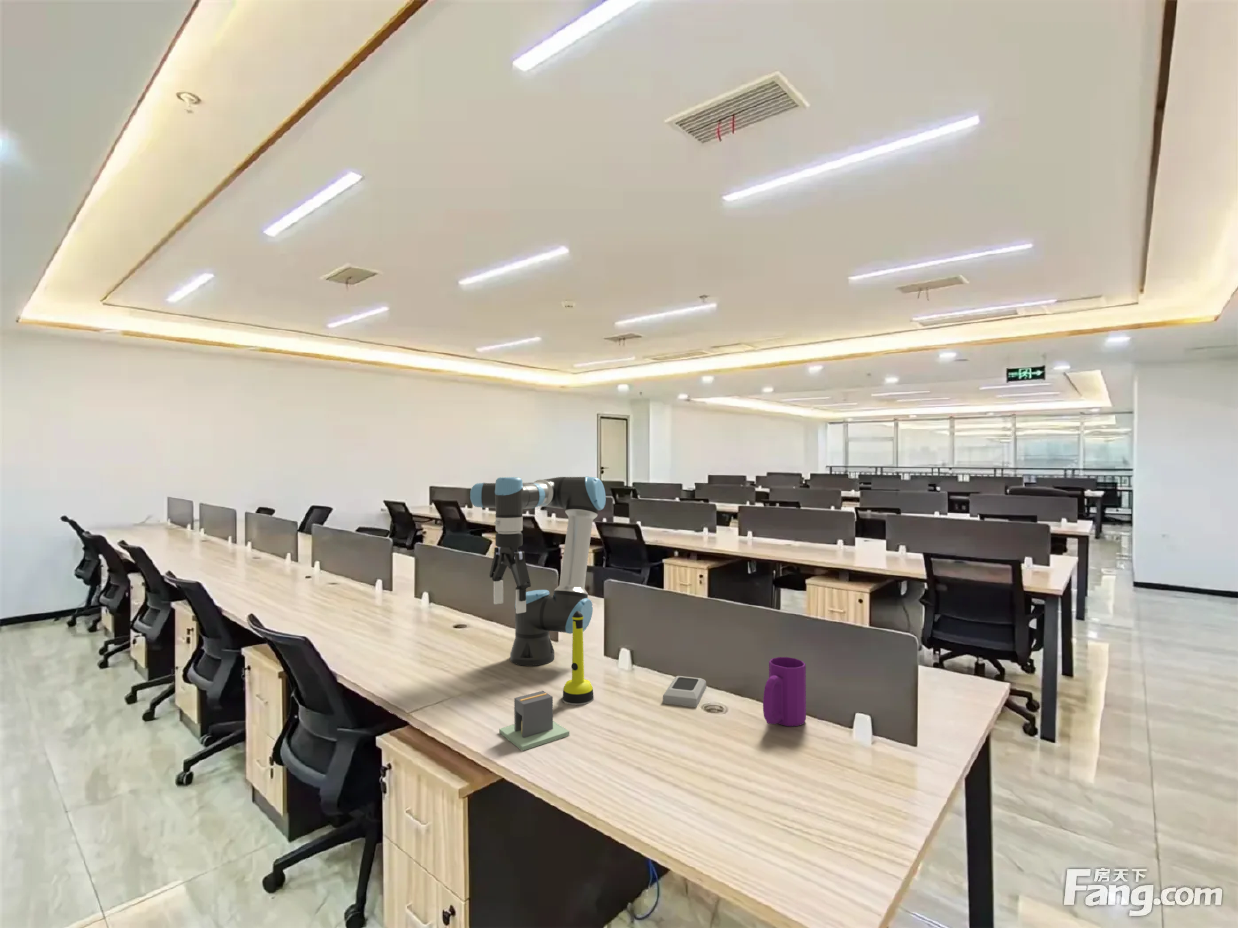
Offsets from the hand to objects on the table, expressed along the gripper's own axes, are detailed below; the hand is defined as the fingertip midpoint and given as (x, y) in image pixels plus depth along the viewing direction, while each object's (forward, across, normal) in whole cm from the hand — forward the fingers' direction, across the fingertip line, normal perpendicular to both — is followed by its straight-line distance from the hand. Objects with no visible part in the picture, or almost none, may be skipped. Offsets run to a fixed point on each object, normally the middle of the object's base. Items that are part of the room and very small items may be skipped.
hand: (509, 608), depth 166 cm
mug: (+27, +55, +49) cm, 78 cm away
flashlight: (+27, +9, +17) cm, 33 cm away
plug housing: (+26, +21, -4) cm, 33 cm away
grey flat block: (+27, +26, +43) cm, 57 cm away
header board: (+27, +21, -4) cm, 34 cm away
